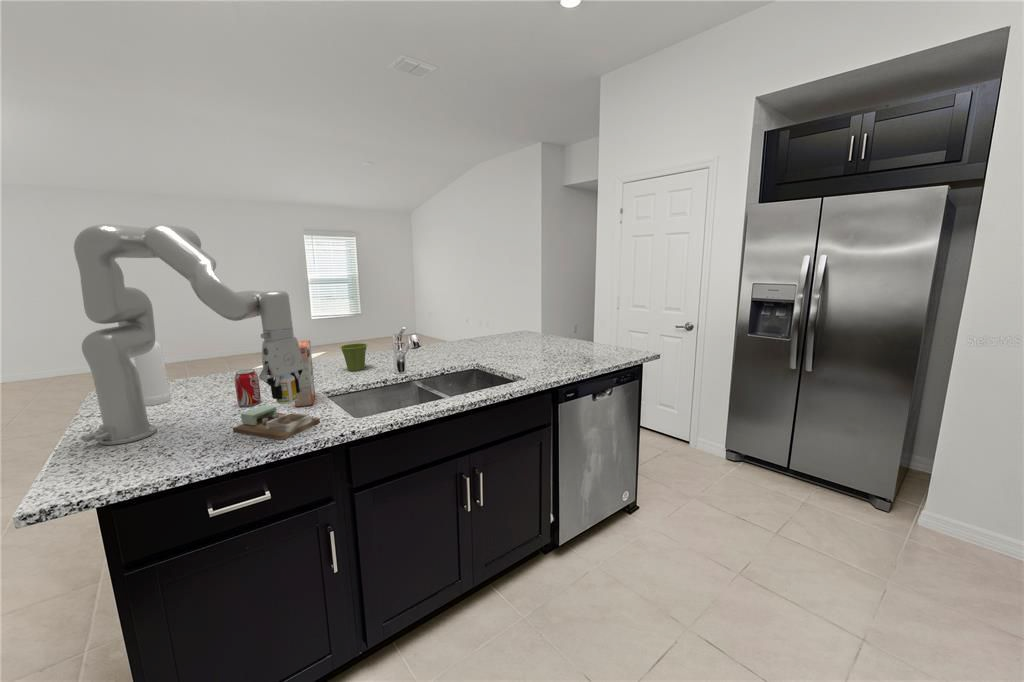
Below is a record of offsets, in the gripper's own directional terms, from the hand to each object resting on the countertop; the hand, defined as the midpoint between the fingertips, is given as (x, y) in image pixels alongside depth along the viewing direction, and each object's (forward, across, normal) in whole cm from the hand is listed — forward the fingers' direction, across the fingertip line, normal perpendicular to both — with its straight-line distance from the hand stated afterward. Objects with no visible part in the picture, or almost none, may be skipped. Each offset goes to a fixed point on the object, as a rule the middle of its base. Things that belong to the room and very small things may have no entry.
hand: (286, 394), depth 125 cm
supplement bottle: (+2, 0, 0) cm, 2 cm away
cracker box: (+11, +22, +17) cm, 30 cm away
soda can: (+11, +13, +33) cm, 37 cm away
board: (+11, 0, +5) cm, 12 cm away
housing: (+9, 0, +12) cm, 15 cm away
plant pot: (+11, +64, +30) cm, 71 cm away
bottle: (+10, +4, +68) cm, 69 cm away
